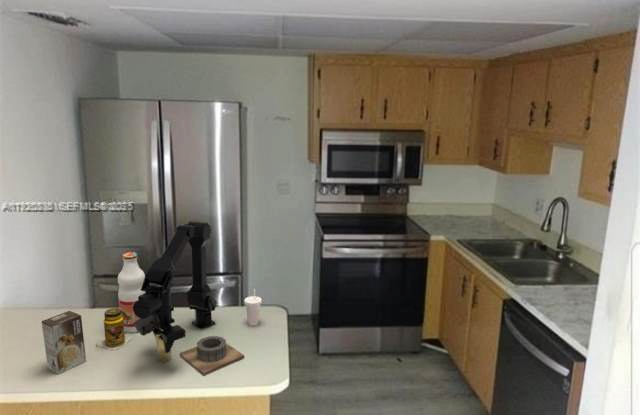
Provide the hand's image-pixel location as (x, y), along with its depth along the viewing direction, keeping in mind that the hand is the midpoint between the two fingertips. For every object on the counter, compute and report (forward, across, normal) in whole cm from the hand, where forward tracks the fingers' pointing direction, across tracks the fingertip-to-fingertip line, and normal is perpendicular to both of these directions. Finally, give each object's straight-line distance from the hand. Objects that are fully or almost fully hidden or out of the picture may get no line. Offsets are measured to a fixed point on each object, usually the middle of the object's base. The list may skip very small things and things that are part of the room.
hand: (164, 349), depth 153 cm
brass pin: (+3, 0, 0) cm, 3 cm away
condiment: (+4, -21, -8) cm, 23 cm away
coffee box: (+4, -17, -24) cm, 30 cm away
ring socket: (+3, +9, +12) cm, 15 cm away
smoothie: (+4, -1, +36) cm, 36 cm away
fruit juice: (+4, -27, +2) cm, 27 cm away
